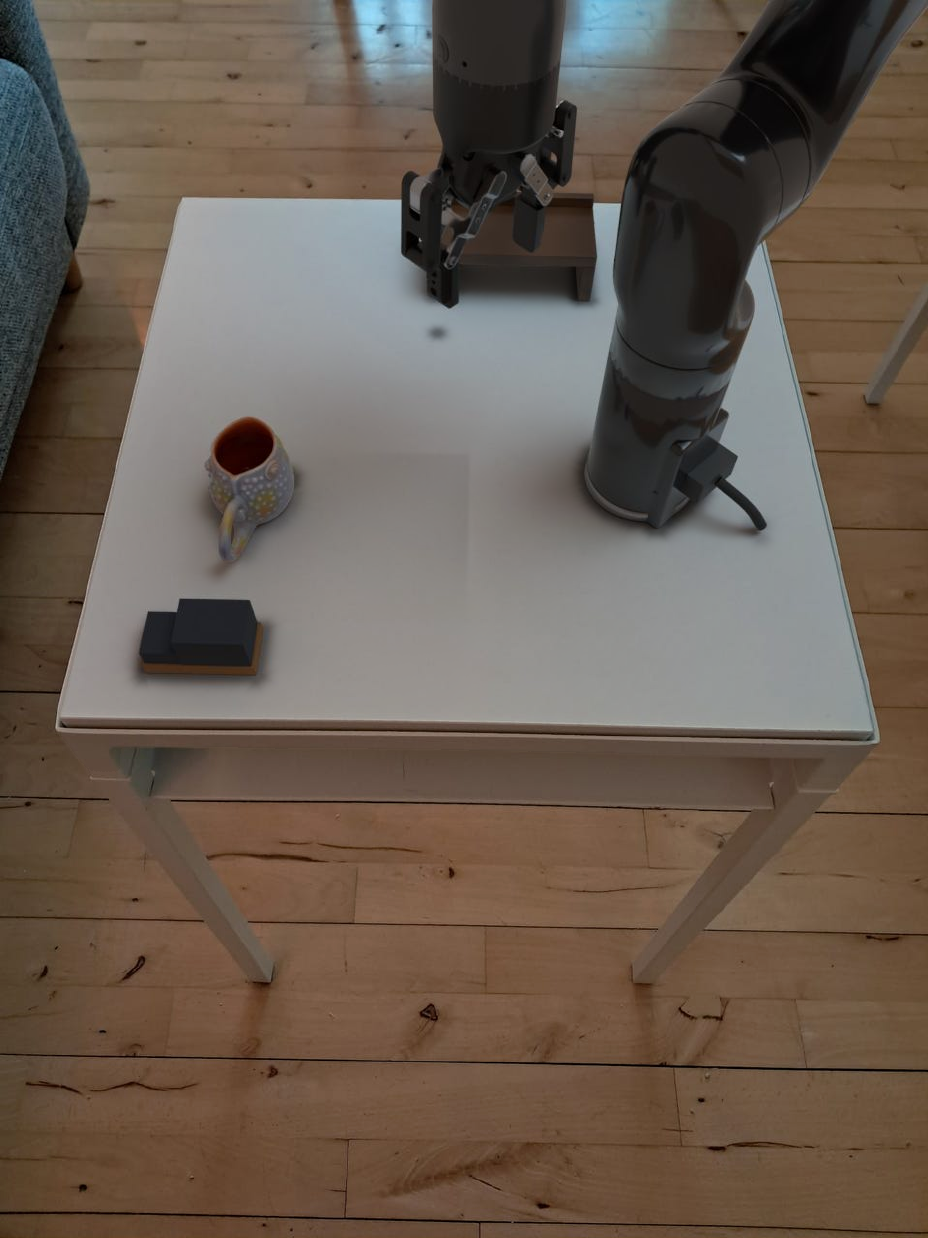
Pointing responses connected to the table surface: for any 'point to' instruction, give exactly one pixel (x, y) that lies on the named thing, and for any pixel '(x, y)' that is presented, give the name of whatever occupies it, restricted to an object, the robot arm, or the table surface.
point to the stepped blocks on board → (203, 638)
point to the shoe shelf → (560, 243)
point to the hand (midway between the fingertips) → (486, 272)
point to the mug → (247, 481)
